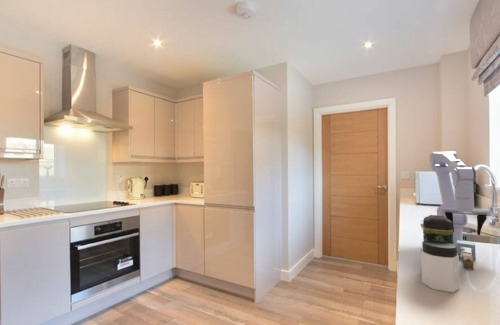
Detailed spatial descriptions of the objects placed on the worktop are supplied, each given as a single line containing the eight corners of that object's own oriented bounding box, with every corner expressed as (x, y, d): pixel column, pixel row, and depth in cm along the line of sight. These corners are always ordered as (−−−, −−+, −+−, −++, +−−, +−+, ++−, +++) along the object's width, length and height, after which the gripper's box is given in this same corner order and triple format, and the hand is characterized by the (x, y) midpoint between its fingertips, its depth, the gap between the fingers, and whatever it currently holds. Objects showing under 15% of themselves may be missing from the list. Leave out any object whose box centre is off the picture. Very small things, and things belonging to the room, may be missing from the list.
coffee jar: (423, 266, 90) (422, 212, 91) (452, 271, 86) (450, 214, 86) (424, 275, 82) (423, 217, 82) (456, 281, 77) (454, 219, 78)
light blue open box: (457, 254, 103) (457, 240, 104) (474, 256, 100) (474, 242, 100) (457, 257, 99) (457, 242, 100) (475, 260, 96) (475, 245, 97)
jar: (451, 295, 69) (449, 250, 69) (417, 284, 76) (416, 243, 76) (463, 287, 74) (462, 244, 74) (431, 277, 80) (430, 238, 81)
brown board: (462, 258, 98) (462, 250, 98) (471, 259, 96) (470, 251, 96) (464, 268, 88) (464, 259, 88) (473, 269, 87) (473, 260, 87)
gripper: (441, 197, 102) (442, 232, 101) (490, 200, 93) (492, 238, 93) (441, 196, 108) (442, 229, 107) (488, 198, 99) (489, 234, 98)
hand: (465, 233), depth 100 cm, fingers open, 7 cm apart
